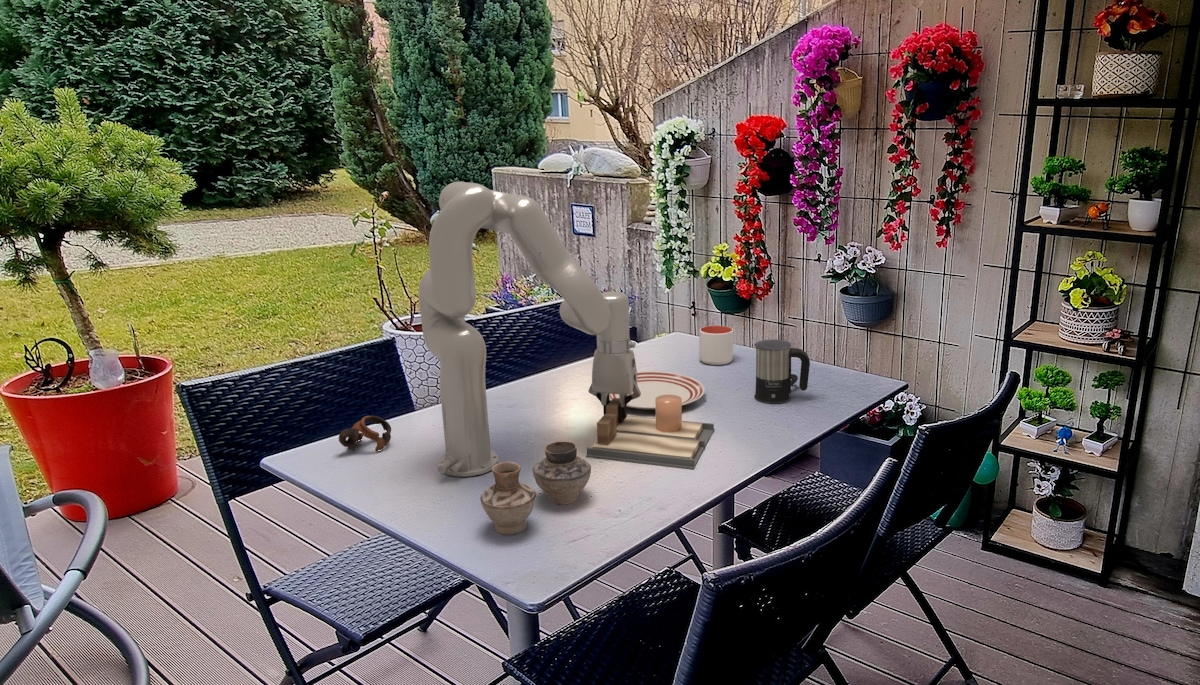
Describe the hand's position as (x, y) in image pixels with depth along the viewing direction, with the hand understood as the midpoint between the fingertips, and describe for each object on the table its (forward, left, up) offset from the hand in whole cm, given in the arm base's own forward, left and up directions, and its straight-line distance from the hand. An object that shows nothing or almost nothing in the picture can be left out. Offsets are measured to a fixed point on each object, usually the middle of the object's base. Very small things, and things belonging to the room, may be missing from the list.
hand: (615, 419), depth 183 cm
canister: (0, -13, -1) cm, 13 cm away
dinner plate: (+24, -2, -3) cm, 24 cm away
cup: (+60, -12, -3) cm, 61 cm away
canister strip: (0, -9, -3) cm, 9 cm away
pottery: (-42, +2, -3) cm, 42 cm away
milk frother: (+35, -33, -3) cm, 49 cm away
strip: (-11, -10, -3) cm, 15 cm away
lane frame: (-5, -10, -3) cm, 12 cm away
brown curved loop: (-25, +53, -3) cm, 58 cm away
